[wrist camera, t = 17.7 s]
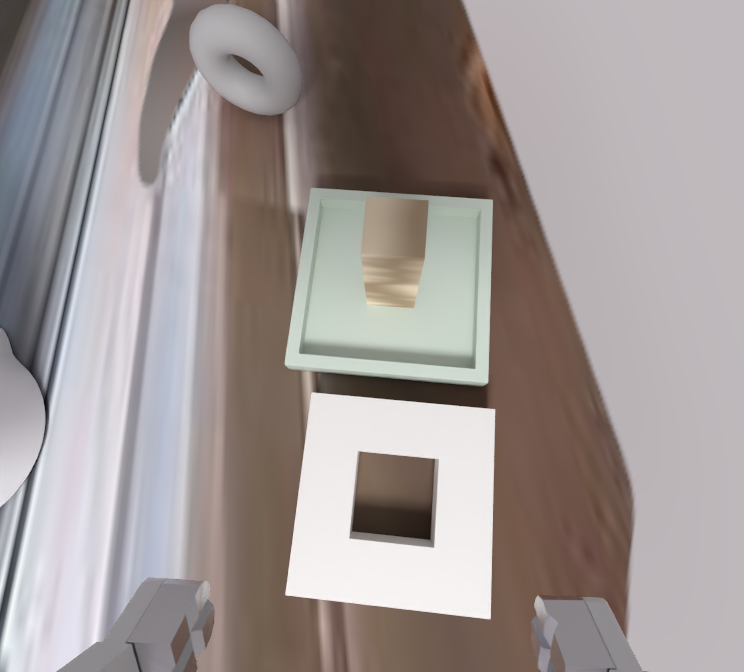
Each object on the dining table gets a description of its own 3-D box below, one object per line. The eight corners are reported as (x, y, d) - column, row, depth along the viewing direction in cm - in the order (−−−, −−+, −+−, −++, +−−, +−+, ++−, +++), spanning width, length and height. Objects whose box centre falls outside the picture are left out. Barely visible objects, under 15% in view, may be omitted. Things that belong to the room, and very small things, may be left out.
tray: (290, 369, 35) (284, 364, 33) (314, 201, 39) (310, 187, 37) (481, 386, 34) (488, 382, 32) (486, 213, 38) (492, 199, 36)
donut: (211, 112, 42) (159, 13, 32) (223, 85, 43) (176, -20, 33) (305, 133, 41) (280, 38, 31) (315, 105, 42) (295, 4, 32)
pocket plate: (293, 583, 31) (285, 595, 29) (316, 396, 35) (311, 392, 32) (482, 605, 30) (490, 619, 28) (487, 411, 34) (495, 409, 32)
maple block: (366, 304, 36) (360, 253, 26) (371, 261, 37) (366, 196, 27) (413, 308, 35) (424, 257, 26) (416, 264, 36) (428, 200, 27)
